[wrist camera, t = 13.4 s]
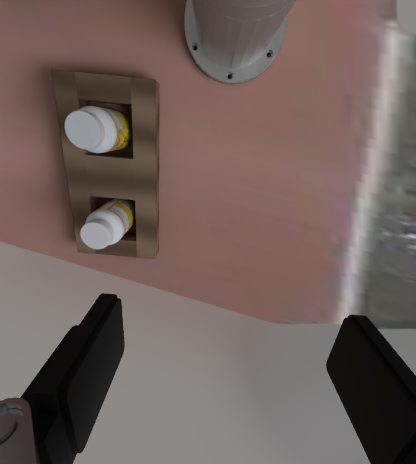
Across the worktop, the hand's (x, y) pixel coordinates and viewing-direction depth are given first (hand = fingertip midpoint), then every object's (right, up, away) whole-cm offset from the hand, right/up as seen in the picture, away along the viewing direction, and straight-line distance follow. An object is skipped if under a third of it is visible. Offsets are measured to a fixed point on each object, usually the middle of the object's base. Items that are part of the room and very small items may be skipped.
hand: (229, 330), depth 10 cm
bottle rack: (-15, +13, +28) cm, 34 cm away
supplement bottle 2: (-16, +8, +30) cm, 35 cm away
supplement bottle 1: (-15, +19, +25) cm, 35 cm away
